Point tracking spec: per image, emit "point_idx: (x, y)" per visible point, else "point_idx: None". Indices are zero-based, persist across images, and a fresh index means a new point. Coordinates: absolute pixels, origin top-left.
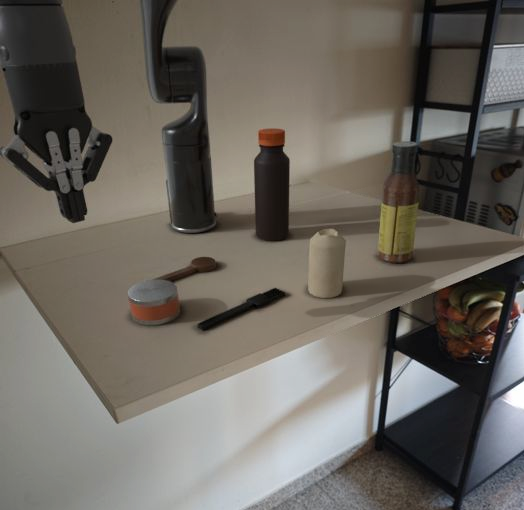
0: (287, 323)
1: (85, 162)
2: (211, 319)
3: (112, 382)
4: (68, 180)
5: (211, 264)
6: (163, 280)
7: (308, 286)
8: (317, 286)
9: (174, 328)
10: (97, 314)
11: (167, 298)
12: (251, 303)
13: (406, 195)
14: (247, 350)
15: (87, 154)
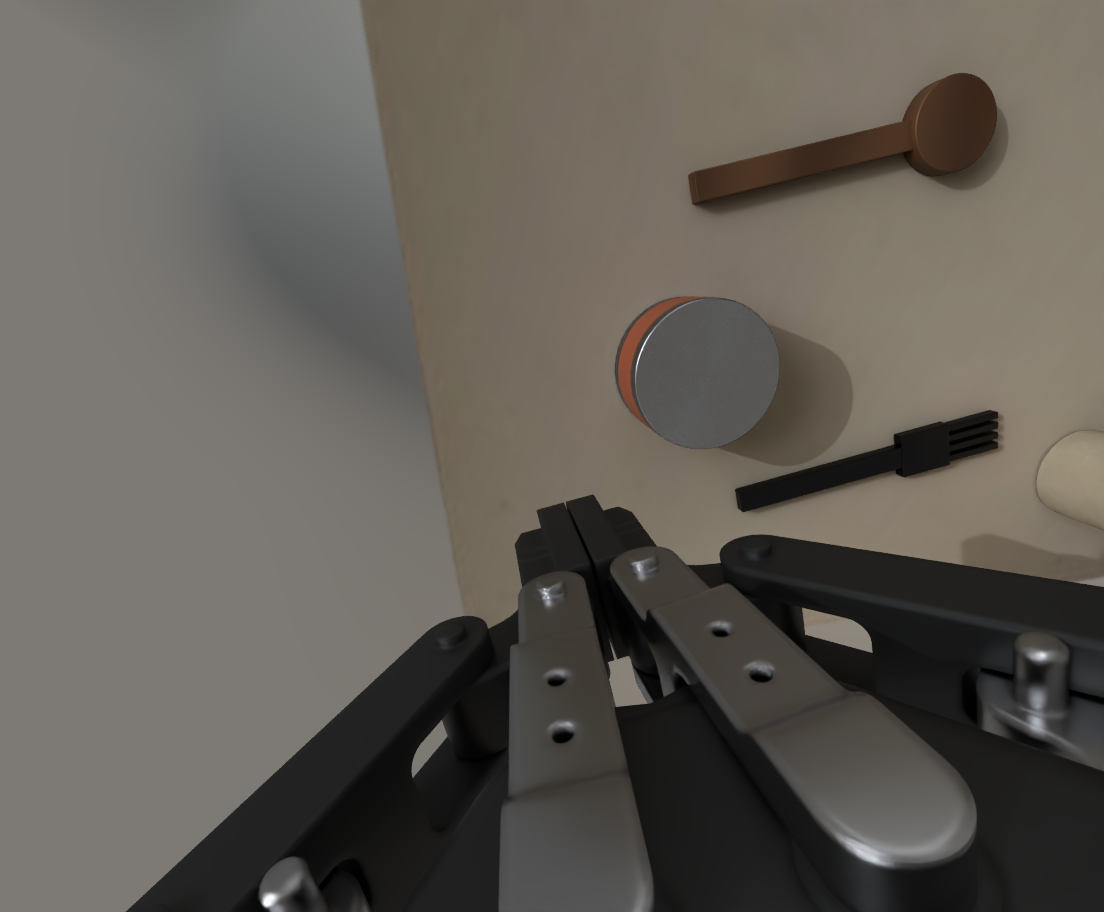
0: None
1: (827, 604)
2: (777, 490)
3: (491, 606)
4: (632, 620)
5: (962, 168)
6: (763, 328)
7: (1057, 459)
8: (1065, 502)
9: (687, 463)
10: (534, 279)
11: (722, 444)
12: (897, 463)
13: None
14: None
15: (894, 633)
